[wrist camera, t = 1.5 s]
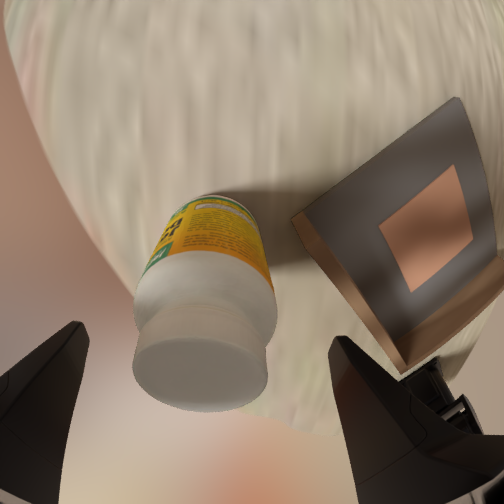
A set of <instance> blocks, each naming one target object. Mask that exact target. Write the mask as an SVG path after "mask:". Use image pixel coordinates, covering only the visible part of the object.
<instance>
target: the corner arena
mask: <svg viewBox="0 0 504 504" xmlns="http://www.w3.org/2000/svg"><path fill="white" fill-rule="evenodd" d="M291 221H292V223H293V225H294V227H295V229H296V231H297V233H298V235H299V237H300V239H301V241H302V243H303V245H304V247H305V249H306V250H307V251H308V253H309V254H310V255H311V256H312V258H313V259H314V260H315V261H316V263H317V264H318V265H319V266H320V267H321V269H322V270H323V271H324V273H325V274H326V275H327V276H328V278H329V279H330V280H331V281H332V283H333V284H334V285H335V286H336V288H337V289H338V290H339V292H340V293H341V294H342V295H343V297H344V298H345V299H346V301H347V302H348V303H349V305H350V306H351V307H352V308H353V310H354V311H355V312H356V314H357V315H358V316H359V318H360V319H361V320H362V322H363V323H364V324H365V326H366V327H367V328H368V330H369V331H370V332H371V334H372V335H373V336H374V338H375V339H376V341H377V342H378V343H379V345H380V346H381V347H382V349H383V350H384V352H385V353H386V354H387V356H388V357H389V358H390V360H391V361H392V363H393V364H394V365H395V367H396V368H397V370H398V371H399V373H400V374H403V373H404V372H406V371H408V370H409V369H411V368H412V367H413V366H415V365H416V364H418V363H419V362H421V361H422V360H424V359H425V358H426V357H428V356H429V355H430V354H432V353H433V352H435V351H436V350H437V349H439V348H440V347H441V346H442V345H444V344H445V343H446V342H448V341H449V340H450V339H451V338H452V337H454V336H455V335H456V334H457V333H459V332H460V331H461V330H462V329H463V328H464V327H466V326H467V325H468V324H469V323H470V322H471V321H472V320H474V319H475V318H476V317H477V316H478V315H479V314H480V313H481V312H482V311H483V310H484V309H485V308H486V307H487V306H488V305H489V304H491V303H492V302H493V301H494V300H495V299H496V297H497V296H498V295H499V294H500V293H501V292H502V291H503V290H504V260H502V259H501V258H500V257H499V256H498V255H497V247H496V237H495V228H494V220H493V213H492V207H491V201H490V196H489V191H488V186H487V181H486V177H485V173H484V169H483V165H482V161H481V157H480V154H479V151H478V147H477V144H476V141H475V138H474V135H473V132H472V129H471V126H470V123H469V120H468V118H467V115H466V112H465V110H464V107H463V105H462V103H461V100H460V98H458V97H453V98H452V99H450V100H449V101H448V102H446V103H445V104H444V105H442V106H441V107H440V108H438V109H437V110H435V111H434V112H433V113H431V114H430V115H429V116H427V117H426V118H425V119H423V120H422V121H421V122H419V123H418V124H417V125H415V126H414V127H413V128H411V129H410V130H409V131H407V132H406V133H405V134H403V135H402V136H401V137H399V138H398V139H397V140H395V141H394V142H393V143H391V144H390V145H389V146H387V147H386V148H385V149H383V150H382V151H381V152H379V153H378V154H377V155H375V156H374V157H373V158H371V159H370V160H369V161H367V162H366V163H365V164H363V165H362V166H361V167H359V168H358V169H357V170H355V171H354V172H353V173H351V174H350V175H349V176H348V177H346V178H345V179H344V180H342V181H341V182H340V183H338V184H337V185H336V186H334V187H333V188H332V189H330V190H329V191H328V192H326V193H325V194H324V195H322V196H321V197H320V198H318V199H317V200H316V201H314V202H313V203H312V204H310V205H309V206H308V207H306V208H305V209H304V210H302V211H301V212H300V213H298V214H297V215H296V216H294V217H293V218H292V219H291Z"/></svg>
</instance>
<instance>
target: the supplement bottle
mask: <svg viewBox="0 0 504 504" xmlns="http://www.w3.org/2000/svg"><path fill="white" fill-rule="evenodd" d="M133 313H134V319H135V323H136V326H137V328H138V330H139V333H140V334H139V338H138V342H137V347H136V350H135V354H134V359H133V373H134V376H135V379H136V381H137V382H138V383H139V385H140V386H141V387H142V388H143V389H144V390H145V391H146V392H147V393H148V394H149V395H151V396H152V397H153V398H155V399H157V400H159V401H160V402H162V403H165V404H167V405H170V406H173V407H176V408H179V409H183V410H187V411H194V412H222V411H228V410H233V409H236V408H239V407H242V406H244V405H246V404H248V403H250V402H252V401H253V400H255V399H256V398H257V397H258V396H259V395H260V394H261V393H262V392H263V390H264V389H265V387H266V384H267V380H268V372H267V363H266V348H265V347H266V346H267V344H268V343H269V342H270V340H271V338H272V336H273V334H274V331H275V328H276V324H277V304H276V298H275V294H274V288H273V285H272V281H271V277H270V273H269V269H268V264H267V261H266V256H265V252H264V248H263V243H262V239H261V235H260V231H259V228H258V225H257V223H256V221H255V219H254V217H253V216H252V214H251V213H250V212H249V211H248V210H247V209H246V208H245V207H244V206H243V205H241V204H240V203H238V202H237V201H235V200H233V199H230V198H228V197H224V196H219V195H208V196H201V197H198V198H195V199H192V200H190V201H188V202H186V203H185V204H183V205H182V206H181V207H179V208H178V209H177V210H176V211H175V213H174V214H173V215H172V217H171V219H170V220H169V222H168V224H167V226H166V228H165V230H164V232H163V234H162V236H161V238H160V240H159V242H158V244H157V246H156V248H155V250H154V252H153V254H152V256H151V258H150V260H149V262H148V264H147V266H146V268H145V270H144V273H143V275H142V277H141V279H140V281H139V283H138V286H137V289H136V292H135V296H134V303H133Z"/></svg>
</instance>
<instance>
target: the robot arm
mask: <svg viewBox="0 0 504 504" xmlns="http://www.w3.org/2000/svg"><path fill="white" fill-rule="evenodd" d="M89 342H90V341H89V336H88V334H87V331H86V328H85V326H84V324H83V323H82V322H79V321H72V322H70V323H69V324H67V325H66V326H65V327H63V328H62V329H61V330H59V331H58V332H57V333H55V334H54V335H53V336H51V337H50V338H49V339H47V340H46V341H45V342H43V343H42V344H41V345H39V346H38V347H37V348H36V349H34V350H33V351H32V352H31V353H29V354H28V355H27V356H25V357H24V358H23V359H22V360H20V361H19V362H18V363H17V364H15V365H14V366H13V367H12V368H11V369H9V370H8V371H7V372H5V373H4V374H3V375H2V376H0V504H58V501H59V490H60V482H61V474H62V466H63V459H64V454H65V448H66V442H67V438H68V433H69V428H70V424H71V419H72V415H73V411H74V407H75V403H76V399H77V395H78V392H79V388H80V385H81V381H82V377H83V373H84V367H85V362H86V357H87V352H88V348H89ZM328 359H329V366H330V373H331V380H332V387H333V393H334V397H335V401H336V405H337V409H338V413H339V417H340V421H341V425H342V429H343V433H344V437H345V441H346V446H347V450H348V455H349V459H350V464H351V468H352V473H353V477H354V482H355V487H356V492H357V497H358V502H359V504H504V435H484V433H483V430H482V427H481V425H480V422H479V420H478V418H477V415H476V413H475V411H474V409H473V407H472V405H471V403H470V402H469V400H468V399H467V397H466V396H465V395H464V394H462V395H461V396H460V397H459V398H458V399H457V400H455V399H454V397H453V396H452V393H451V392H450V390H449V388H448V386H447V384H446V383H445V381H444V379H443V377H442V376H443V373H442V370H441V366H440V363H439V360H438V359H437V358H435V359H433V360H432V361H430V362H429V363H428V364H426V365H425V366H423V367H422V368H420V369H419V370H418V371H416V372H415V373H413V374H412V375H410V376H409V377H407V378H406V379H404V380H402V381H401V382H398V381H397V380H396V379H395V378H394V377H392V376H391V375H390V374H389V373H388V372H387V371H386V370H385V369H383V368H382V367H381V366H380V365H379V364H378V363H377V362H376V361H374V360H373V359H372V358H371V357H370V356H369V355H368V354H367V353H365V352H364V351H363V350H362V349H361V348H360V347H359V346H358V345H356V344H355V343H354V342H353V341H352V340H351V339H350V338H349V337H347V336H345V335H344V336H336V337H335V338H334V339H333V342H332V344H331V347H330V349H329V352H328ZM463 408H465V410H464V411H463V412H460V410H462V409H463Z"/></svg>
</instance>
